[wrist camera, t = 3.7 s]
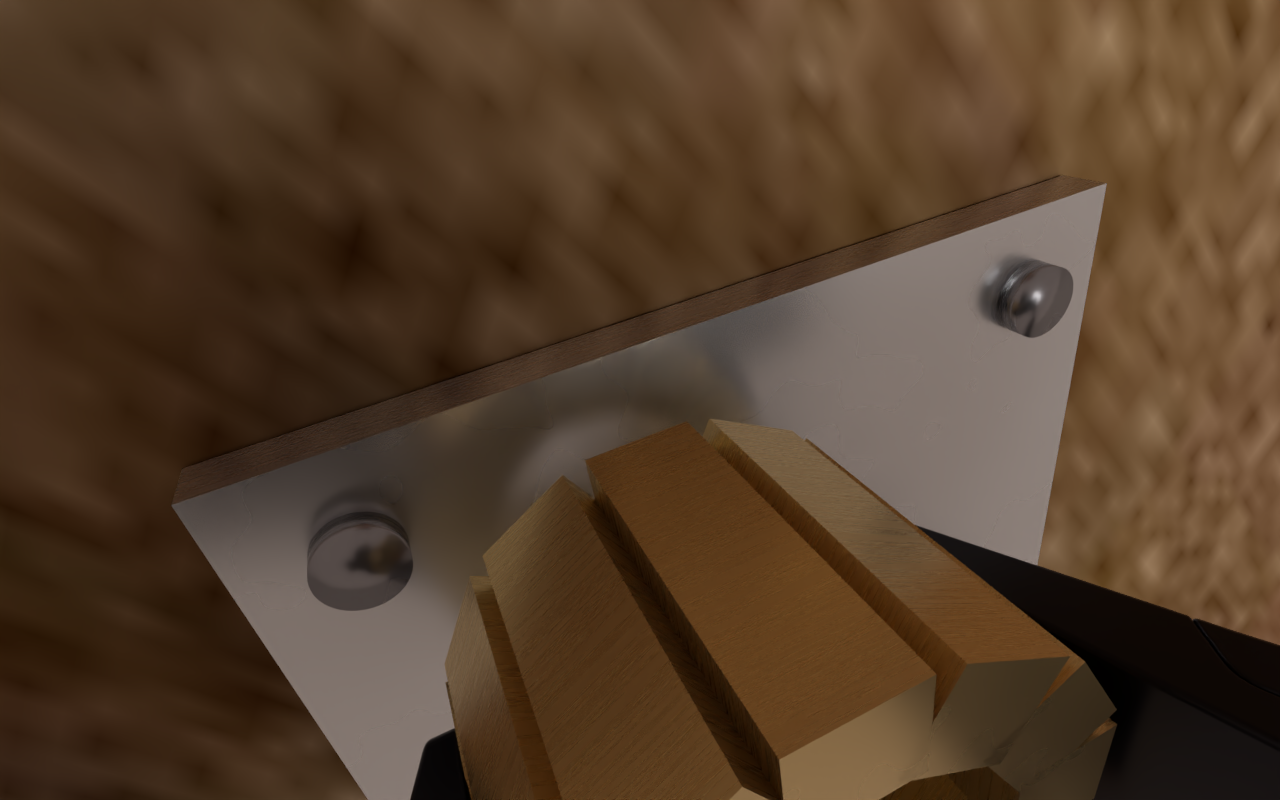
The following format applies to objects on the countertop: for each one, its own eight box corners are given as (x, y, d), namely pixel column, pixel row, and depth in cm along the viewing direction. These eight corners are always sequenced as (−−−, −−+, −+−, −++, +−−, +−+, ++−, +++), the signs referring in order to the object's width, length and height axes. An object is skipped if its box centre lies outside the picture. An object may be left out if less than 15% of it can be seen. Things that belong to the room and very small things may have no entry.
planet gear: (852, 358, 9) (1174, 546, 6) (854, 664, 12) (1061, 902, 9) (375, 539, 7) (428, 952, 4) (521, 838, 10) (618, 1208, 7)
